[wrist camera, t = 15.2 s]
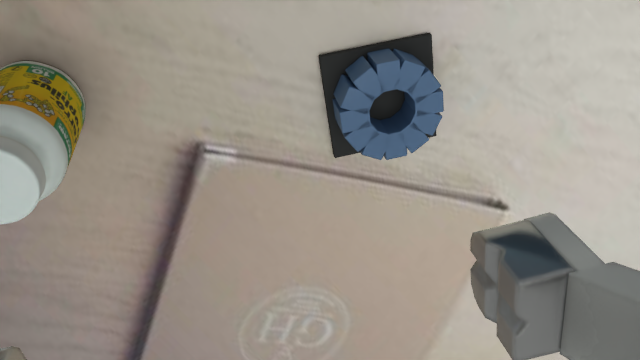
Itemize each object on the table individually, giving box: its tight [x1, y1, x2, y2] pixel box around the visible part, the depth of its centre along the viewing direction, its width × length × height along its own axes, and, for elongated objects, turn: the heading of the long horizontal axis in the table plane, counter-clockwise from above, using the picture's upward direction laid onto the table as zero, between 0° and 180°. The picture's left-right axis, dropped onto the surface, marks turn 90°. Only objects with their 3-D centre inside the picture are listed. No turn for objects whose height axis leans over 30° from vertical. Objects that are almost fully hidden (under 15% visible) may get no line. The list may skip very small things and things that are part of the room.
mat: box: [319, 33, 436, 158], centre depth 38 cm, size 7×7×1 cm
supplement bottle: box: [0, 61, 86, 224], centre depth 30 cm, size 5×5×10 cm
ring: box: [333, 48, 443, 160], centre depth 37 cm, size 6×6×2 cm
